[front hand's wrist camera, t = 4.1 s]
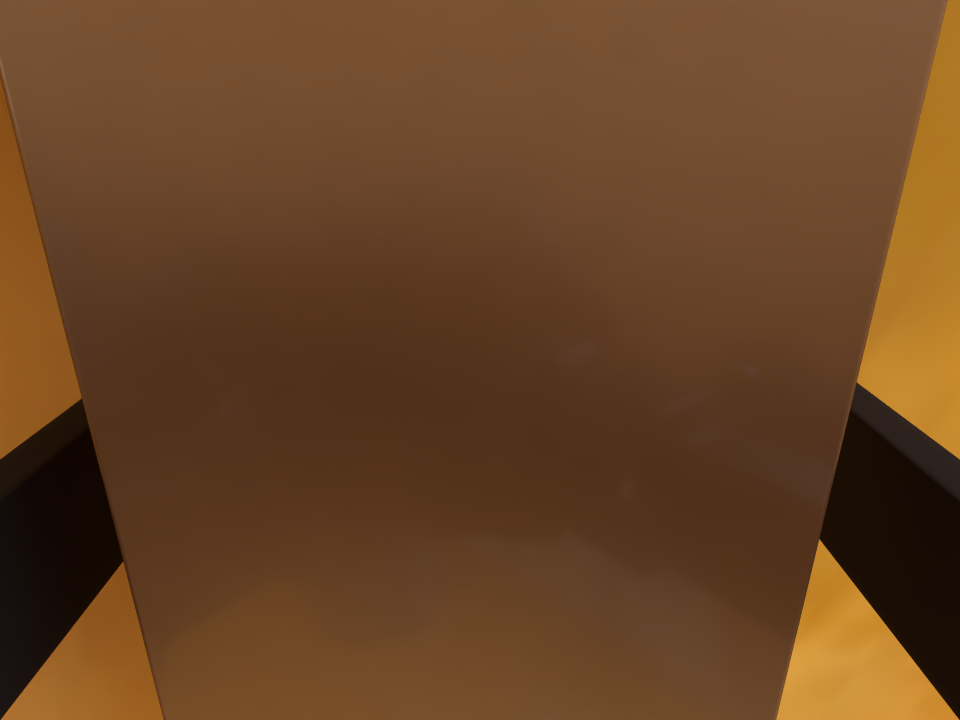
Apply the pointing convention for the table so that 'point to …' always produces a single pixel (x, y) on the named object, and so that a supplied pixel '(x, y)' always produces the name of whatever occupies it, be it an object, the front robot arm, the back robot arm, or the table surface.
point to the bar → (467, 333)
